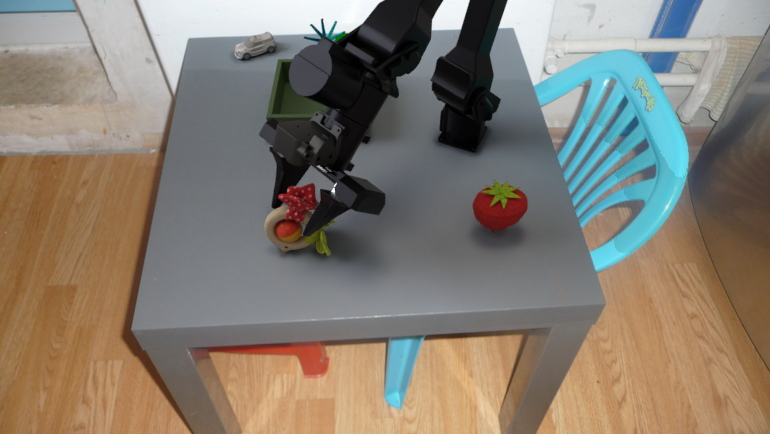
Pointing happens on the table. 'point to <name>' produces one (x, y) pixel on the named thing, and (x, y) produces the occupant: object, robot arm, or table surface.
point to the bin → (289, 98)
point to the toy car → (255, 46)
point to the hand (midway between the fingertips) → (289, 221)
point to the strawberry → (499, 206)
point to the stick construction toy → (337, 36)
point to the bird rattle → (295, 221)
